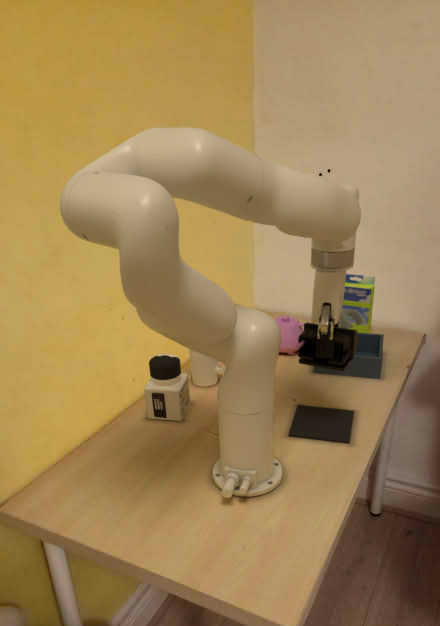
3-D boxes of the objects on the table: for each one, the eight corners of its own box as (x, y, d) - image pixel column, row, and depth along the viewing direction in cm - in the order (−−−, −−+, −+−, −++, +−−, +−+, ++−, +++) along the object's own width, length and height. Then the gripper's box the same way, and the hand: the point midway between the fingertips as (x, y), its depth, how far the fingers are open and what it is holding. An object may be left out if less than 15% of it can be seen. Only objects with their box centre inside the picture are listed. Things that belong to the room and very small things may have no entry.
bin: (379, 378, 127) (382, 358, 125) (313, 372, 132) (314, 353, 129) (381, 353, 140) (383, 334, 137) (321, 348, 144) (321, 330, 141)
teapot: (305, 360, 138) (307, 326, 134) (249, 354, 143) (248, 321, 138) (312, 343, 147) (314, 311, 142) (259, 338, 151) (259, 307, 147)
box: (328, 337, 150) (332, 276, 141) (333, 332, 153) (336, 272, 145) (367, 343, 146) (373, 280, 137) (370, 337, 149) (376, 276, 140)
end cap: (356, 357, 106) (359, 325, 102) (346, 372, 100) (348, 338, 97) (308, 349, 110) (309, 317, 107) (295, 363, 104) (296, 330, 101)
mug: (186, 384, 129) (182, 338, 124) (200, 372, 134) (197, 327, 129) (222, 392, 125) (220, 345, 119) (236, 380, 130) (234, 334, 124)
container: (182, 421, 114) (177, 367, 108) (147, 419, 116) (140, 365, 110) (190, 403, 121) (186, 351, 115) (158, 401, 123) (152, 349, 116)
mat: (349, 443, 105) (349, 441, 105) (288, 436, 108) (288, 434, 108) (354, 412, 115) (354, 410, 115) (297, 406, 118) (297, 404, 118)
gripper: (317, 245, 104) (313, 329, 112) (303, 270, 89) (300, 366, 97) (357, 246, 102) (350, 332, 110) (350, 272, 87) (342, 369, 95)
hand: (326, 347), depth 104 cm, fingers closed on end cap, 8 cm apart
